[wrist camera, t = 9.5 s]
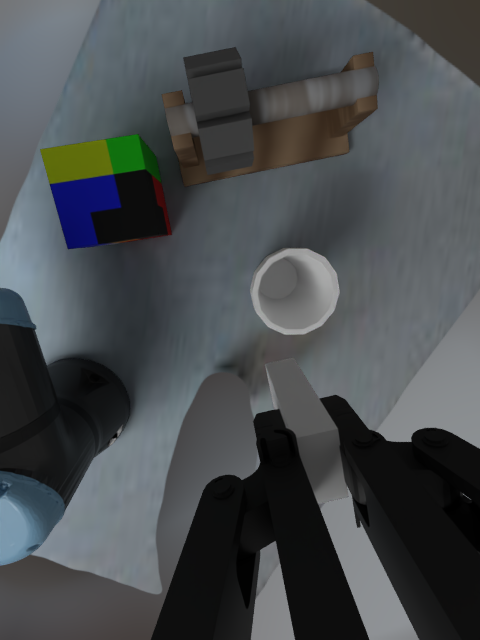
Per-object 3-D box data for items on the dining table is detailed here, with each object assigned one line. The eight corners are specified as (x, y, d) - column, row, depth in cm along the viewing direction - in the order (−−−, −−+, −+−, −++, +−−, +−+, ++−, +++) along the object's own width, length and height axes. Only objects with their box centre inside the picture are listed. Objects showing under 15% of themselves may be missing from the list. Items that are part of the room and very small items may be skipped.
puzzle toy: (99, 246, 46) (67, 249, 36) (80, 168, 44) (40, 149, 34) (171, 234, 46) (159, 234, 37) (156, 156, 44) (138, 134, 34)
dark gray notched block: (208, 182, 40) (203, 157, 31) (190, 92, 39) (178, 34, 29) (249, 174, 40) (257, 146, 31) (232, 84, 39) (235, 23, 29)
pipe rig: (184, 186, 45) (173, 170, 34) (168, 112, 42) (149, 68, 31) (345, 153, 45) (387, 126, 34) (337, 77, 43) (379, 22, 31)
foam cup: (252, 237, 47) (264, 238, 34) (315, 252, 48) (349, 258, 35) (238, 303, 49) (244, 326, 36) (298, 315, 50) (324, 342, 37)
